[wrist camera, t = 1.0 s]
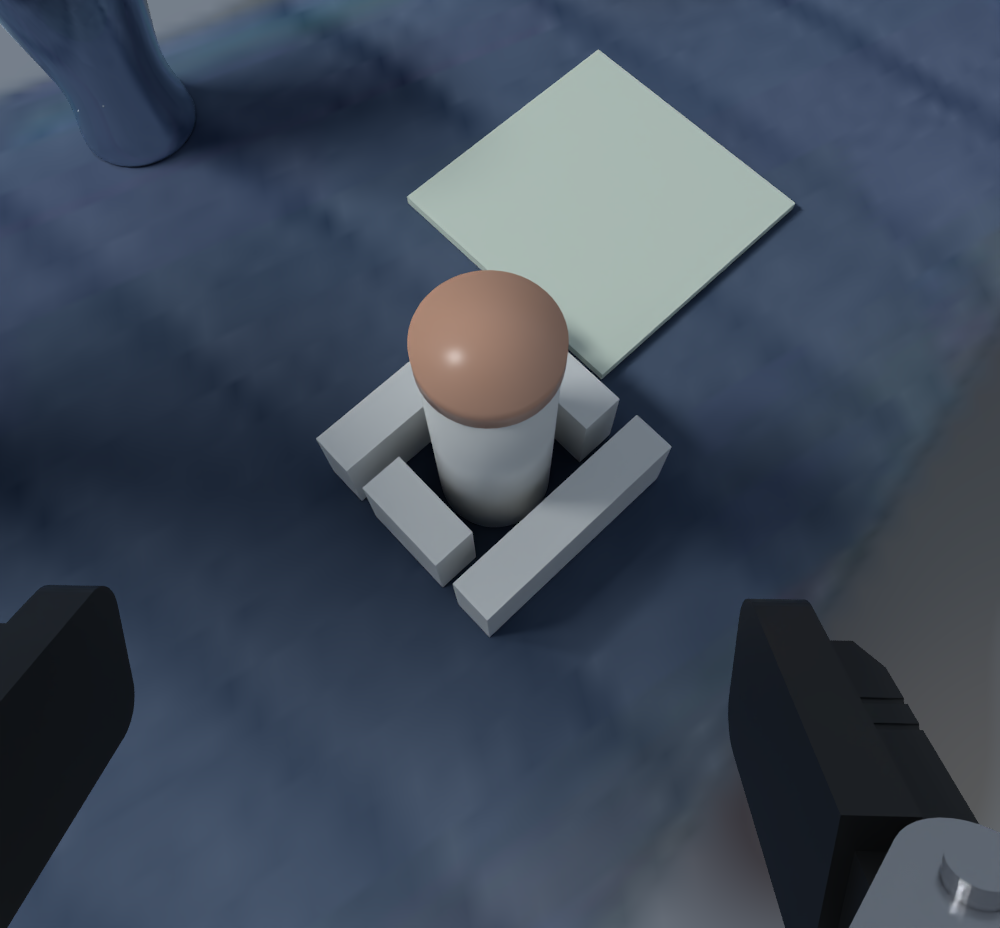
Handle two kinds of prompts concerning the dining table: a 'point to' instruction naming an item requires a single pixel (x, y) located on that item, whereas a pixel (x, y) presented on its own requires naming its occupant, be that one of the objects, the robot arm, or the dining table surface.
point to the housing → (534, 540)
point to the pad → (602, 207)
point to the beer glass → (107, 74)
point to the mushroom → (490, 390)
